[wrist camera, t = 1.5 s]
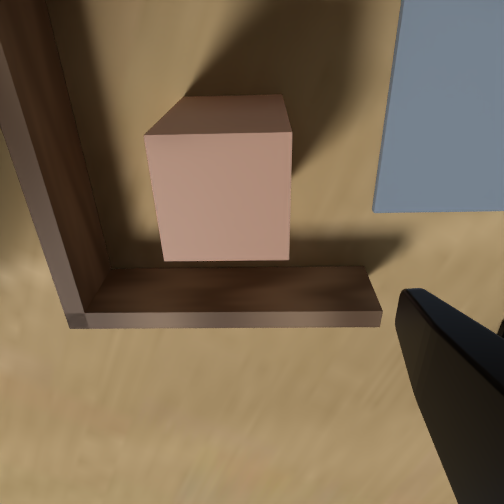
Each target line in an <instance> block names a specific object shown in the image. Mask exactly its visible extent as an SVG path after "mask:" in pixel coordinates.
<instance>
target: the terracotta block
mask: <svg viewBox="0 0 504 504" xmlns="http://www.w3.org/2000/svg"><path fill="white" fill-rule="evenodd" d="M144 141H145V147H146V153H147V159H148V165H149V172H150V178H151V184H152V190H153V196H154V202H155V208H156V214H157V220H158V226H159V233H160V239H161V245H162V251H163V257H164V261H243V260H289V243H290V204H291V165H292V129H291V125H290V122H289V118H288V114H287V110H286V107H285V103H284V99H283V96H282V94H276V95H234V96H193V97H183V98H182V99H181V100H179V101H178V102H177V103H176V104H175V105H174V106H173V107H172V108H171V109H170V110H169V111H168V112H167V113H166V114H165V115H164V116H163V117H162V118H161V119H160V120H159V121H158V122H157V123H156V124H155V125H154V126H153V127H152V128H151V129H150V130H148V131H147V132H146V133H145V134H144Z"/></svg>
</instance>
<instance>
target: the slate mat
mask: <svg viewBox="0 0 504 504" xmlns="http://www.w3.org/2000/svg"><path fill="white" fill-rule="evenodd" d="M372 211H373V212H374V213H398V212H467V211H504V0H401V7H400V14H399V21H398V28H397V35H396V42H395V49H394V56H393V64H392V71H391V78H390V85H389V92H388V99H387V106H386V113H385V120H384V128H383V135H382V142H381V149H380V156H379V163H378V170H377V177H376V185H375V192H374V199H373V206H372Z"/></svg>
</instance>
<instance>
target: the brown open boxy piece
mask: <svg viewBox="0 0 504 504" xmlns="http://www.w3.org/2000/svg"><path fill="white" fill-rule="evenodd" d="M0 126H1V129H2V132H3V135H4V138H5V141H6V144H7V147H8V150H9V153H10V156H11V158H12V161H13V164H14V167H15V170H16V173H17V176H18V179H19V182H20V185H21V188H22V191H23V194H24V196H25V199H26V202H27V205H28V208H29V211H30V214H31V217H32V220H33V223H34V226H35V229H36V232H37V234H38V237H39V240H40V243H41V246H42V249H43V252H44V255H45V258H46V261H47V264H48V267H49V269H50V272H51V275H52V278H53V281H54V284H55V287H56V290H57V293H58V296H59V299H60V302H61V305H62V307H63V310H64V313H65V316H66V319H67V322H68V325H69V328H70V329H111V328H298V327H380V323H381V318H382V312H383V311H382V308H381V306H380V303H379V301H378V299H377V296H376V294H375V291H374V289H373V287H372V284H371V282H370V279H369V277H368V275H367V272H366V270H365V267H364V266H332V267H234V268H136V269H111V265H110V261H109V257H108V253H107V249H106V245H105V241H104V237H103V233H102V229H101V225H100V221H99V217H98V213H97V209H96V204H95V200H94V196H93V192H92V188H91V184H90V180H89V176H88V172H87V168H86V164H85V160H84V156H83V152H82V148H81V144H80V140H79V136H78V132H77V128H76V123H75V119H74V115H73V111H72V107H71V103H70V99H69V95H68V91H67V87H66V83H65V79H64V75H63V71H62V67H61V63H60V59H59V55H58V51H57V47H56V42H55V38H54V34H53V30H52V26H51V22H50V18H49V14H48V10H47V6H46V2H45V0H0Z"/></svg>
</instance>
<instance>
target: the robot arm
mask: <svg viewBox="0 0 504 504" xmlns="http://www.w3.org/2000/svg"><path fill="white" fill-rule="evenodd" d="M395 327H396V332H397V335H398V339H399V342H400V346H401V350H402V353H403V357H404V361H405V364H406V368H407V371H408V375H409V379H410V382H411V386H412V389H413V392H414V395H415V398H416V401H417V403H418V406H419V409H420V411H421V413H422V416H423V418H424V421H425V423H426V426H427V428H428V431H429V433H430V436H431V438H432V441H433V443H434V445H435V448H436V450H437V453H438V455H439V458H440V460H441V463H442V465H443V468H444V470H445V473H446V475H447V477H448V480H449V482H450V485H451V487H452V490H453V492H454V495H455V497H456V500H457V502H458V504H504V322H503V323H502V325H501V327H500V329H499V332H498V334H495V333H494V332H492V331H491V330H489V329H487V328H486V327H484V326H483V325H481V324H479V323H478V322H476V321H474V320H473V319H471V318H470V317H468V316H466V315H465V314H463V313H462V312H460V311H458V310H457V309H455V308H454V307H452V306H450V305H449V304H447V303H446V302H444V301H442V300H441V299H439V298H438V297H436V296H434V295H433V294H431V293H430V292H428V291H426V290H424V289H422V288H412V289H404V290H402V291H401V293H400V297H399V302H398V307H397V313H396V318H395Z"/></svg>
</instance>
